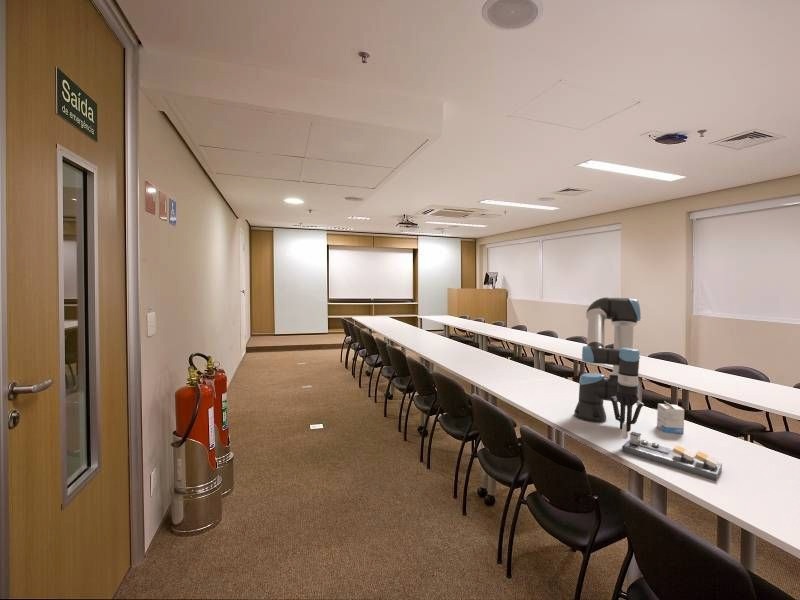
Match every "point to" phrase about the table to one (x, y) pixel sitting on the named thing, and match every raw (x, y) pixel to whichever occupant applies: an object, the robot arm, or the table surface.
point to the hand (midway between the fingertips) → (624, 437)
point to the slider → (635, 438)
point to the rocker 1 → (683, 452)
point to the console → (671, 459)
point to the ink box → (670, 418)
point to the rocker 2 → (706, 459)
